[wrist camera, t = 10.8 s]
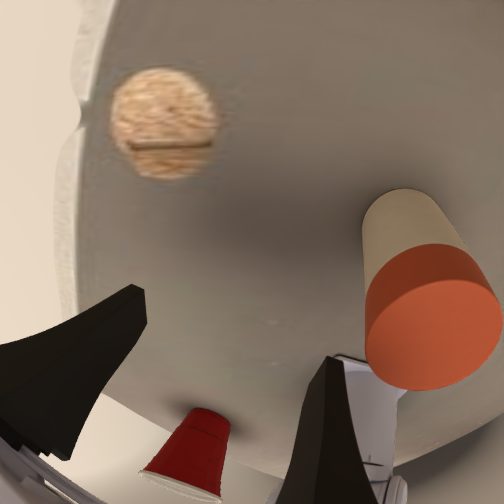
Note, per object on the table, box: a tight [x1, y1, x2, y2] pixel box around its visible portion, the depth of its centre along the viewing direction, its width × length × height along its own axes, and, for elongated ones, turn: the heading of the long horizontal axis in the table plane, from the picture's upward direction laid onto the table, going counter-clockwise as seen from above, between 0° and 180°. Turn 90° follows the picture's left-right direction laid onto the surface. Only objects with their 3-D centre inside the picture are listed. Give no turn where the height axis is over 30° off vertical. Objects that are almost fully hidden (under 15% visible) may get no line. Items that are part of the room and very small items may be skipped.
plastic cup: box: [139, 408, 230, 503], centre depth 33 cm, size 11×11×12 cm
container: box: [362, 189, 503, 391], centre depth 13 cm, size 5×5×10 cm
